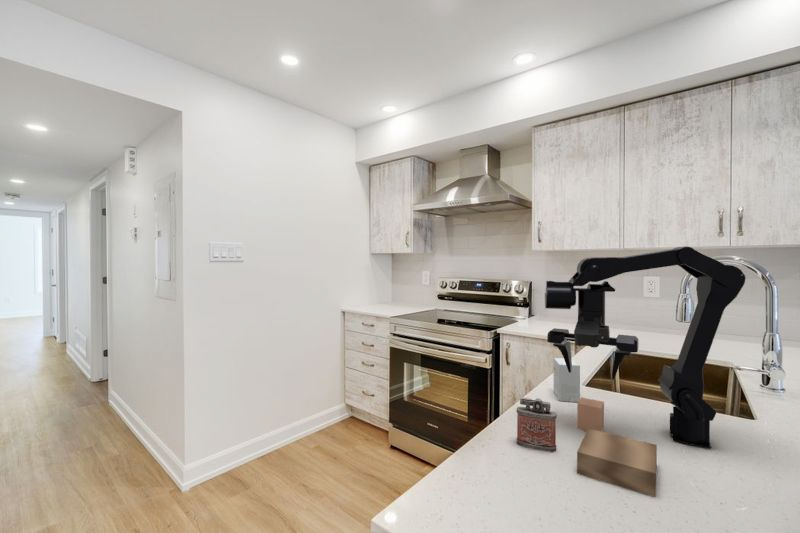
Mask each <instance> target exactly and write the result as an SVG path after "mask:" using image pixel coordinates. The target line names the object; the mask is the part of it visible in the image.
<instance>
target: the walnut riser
mask: <svg viewBox="0 0 800 533" xmlns="http://www.w3.org/2000/svg"><path fill="white" fill-rule="evenodd" d="M585 431H586V430H585ZM576 452H577V453H576V474H579V475H581V476H584V477H585V476H586V477H588V478H592V479H595V480H599V481H600V482H601V481H602V482H605V483H609V484H611V485H614V486H618V487H621V488H623V489H628V490H631V491H634V492H637V493H640V494H644V495H646V496H650V497H654V498H656V496H657V495H656V493H657V491H656V490H657V460H658V458H657V457H658V455H657V452H658V447H657V444H656V443H650V442H647V441H644V440H643V441H642V440H638V439H634V438H631V437H625V436H622V435H618V434H614V433H608V432H604V431H602V432H601V431H597V430H593V429H587V431H586V432H585V434H584V436H583V438H582V441H581V442H580V444H579V447H578V449H577V451H576Z"/></svg>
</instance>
